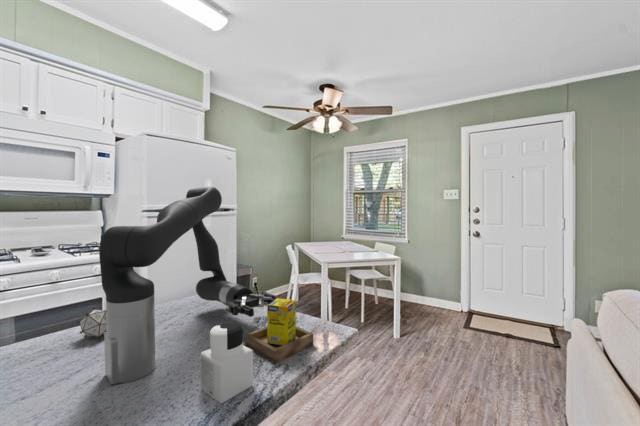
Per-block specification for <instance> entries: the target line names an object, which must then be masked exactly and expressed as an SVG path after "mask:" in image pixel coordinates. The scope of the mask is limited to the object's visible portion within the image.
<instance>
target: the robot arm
mask: <svg viewBox="0 0 640 426" xmlns="http://www.w3.org/2000/svg"><path fill="white" fill-rule="evenodd" d="M222 202H223V201H222V194H221V192H220V191H219V189H218V188H216V187H213V186H205V187H196V188H191V189H189V190H188V191H187V192H186V195H185V198H182V199H180V200H176V201H174V202H172V203H169V204H168V205H166V206H164V207H163V208H162V209H161V210H160V211H159V212H158V214H157V216H156V223H154V224H151V225H140V226H139V225H135V226H134V225H132V226H131V225H118V226H117V225H115V226H112V227H109V228H107V229H106V230H105V231H104V232H103V234H102V235H101V239H100V242H99V251H98V252H99V253H98V255H99V266H100V277H101V278H100V279H101V287H102V290H103V292H104V295H105V307H106V309H105V311H106V320H107V330H106V331H107V332H104V333H103V335H104V375H105V374H106V375H105V376H107V377H106V378H107V381H108V382H109V384H110V383H111V384H114V385H116V384H115V383H117V384H122V383H129V382H134V381H136V380H137V381H138V380H139V379H142V378H143V377H146V376H147V375H149V374H150V373H152V372H153V371H154V370H155V369H156V359H157V357H156V355H157V354H156V322H155V321H156V317H155V316H156V315H155V314H156V313H155V310H156V308H155V307H156V306H155V284H154V281H152V280H151V279H150V278H149V279H148V278H145V277H144V276H142V275H140V274H138V273H137V272H136V270H135V269H134V268H147V267H149V266H151V265H153V264H154V263H156V262H157V261H158V260H159V259H160V258H161V257H162V256H163V255H164V254H165V253H166V252H167V250H168V249H169V248H170V247H171V246H172V245H173V244H174V243H175V242H176V241H177V240H178V239H180V238H181V237H182V236H183V235H185V234H186V233H187V232H189V231H190V230H192V232H193V234H194V238H195V243H196V247H197V248H196V249H197V258H198V266H199V269H200V271H202V272H211V273H212V275H213V276H209V277H205V278H201V279H199V280H198V282H197V283H196V286H195V292H196V295H198V296H199V298H201V299H203V300H205V301H212V302H219V303H221V304H223V305H224V306H225V311H226V312H228V313H230V314H231V315H233V316H235V317H236V316H238V315H239V314H240V315H245V316H249V317H254V315H255V311H254V308H264V307H267V305H268V304H270V303H271V302H273V301H274V300H276V295H275V294H272V293H268V292H265V291H263V292H261V294H256V293H253V291H252V289H251V288H249V287H247V286H243V285H241V284H238V283H233V282H230V281H228V280H227V277H226V276H225V273H224V270H223V268H222V266H221V265H222V264H221V262H220V261H221V260H220V253H219V252H220V251H219V246H218V243H217V242H216V239H215V238H214V236H212V234H211V232H209V230H208V229H207V227H206V225H205V224H204V222H203V219H205V218H206V217H207V216H209V215H211V214H213V213H215V212H217V211H218V210H219V209H220V208H221V205H222ZM111 384H110V385H111Z"/></svg>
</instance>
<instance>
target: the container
mask: <svg viewBox="0 0 640 426" xmlns="http://www.w3.org/2000/svg"><path fill="white" fill-rule="evenodd" d="M209 345H210V346H209V349H206V350H204V351H203V350H202V351H201V353H200V389H201V390H202V391H204V392H205V393H207V394H208V395H209V396H211V397H212V398H213V399H214V400H215V401H217V402H218V403H220V404H223V403H225V402H227V401H229V400H231V399H233V398H234V397H236V396H237V395H239V394H241V393H242V392H244V391H246V390H247V389H249V388H251V387H252V386H253V385H254V351H253V350H252V349H250V348H248V347H247V346H245V344H244V326H243V325H241V324H240V323H239V322H234V321H226V322H225V321H224V322H221V323H219V324H216V325H214V326H213V327H212V328H211V330H210V331H209Z"/></svg>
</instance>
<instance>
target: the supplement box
mask: <svg viewBox="0 0 640 426" xmlns="http://www.w3.org/2000/svg"><path fill="white" fill-rule="evenodd" d="M296 302H297V301H296V299H286V298H275V300H274V301H273V302H271V303H270V304H268V305H267V306H266V308H267V310H266V313H267V316H266V317H267V319H266V323H267V324H266V325H267V326H266V327H267V344H269V345H270V346H274V347H280V346H282V345H284V344H287V343H289V342H291V341H293V340H295V329H296V328H295V326H296V318H297V317H296Z"/></svg>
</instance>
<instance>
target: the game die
mask: <svg viewBox="0 0 640 426" xmlns="http://www.w3.org/2000/svg"><path fill="white" fill-rule="evenodd" d="M76 323H77V324H79V325H80V330H81V331H80V332H79V334H84V335H85V336H84V337H86V338H87V337H94V338H95V337H96V338H97V339H98V340H100V339H101V336H102V335H104V334H105V332H107V320H106V309H105V310H104V309H103V310H102V309H96V307H93V308H92V310H91V311H90V312H89V313H88V312H85V317H83V318H82V319H80V321H79V320H77V321H76Z"/></svg>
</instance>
